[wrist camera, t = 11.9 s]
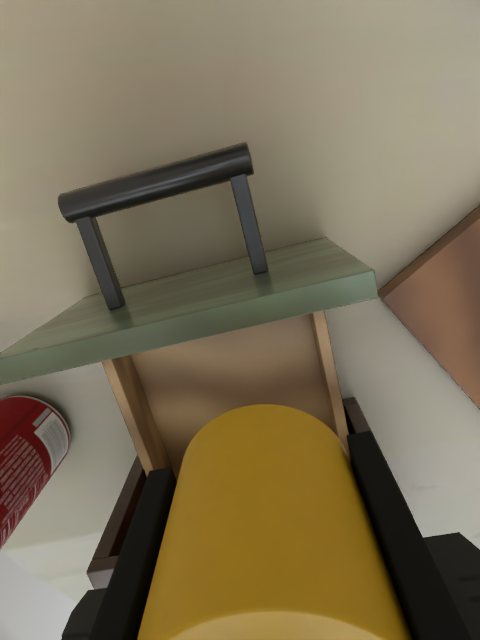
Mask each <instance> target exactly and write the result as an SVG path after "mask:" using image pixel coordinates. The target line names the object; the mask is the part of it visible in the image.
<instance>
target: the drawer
mask: <svg viewBox="0 0 480 640" xmlns="http://www.w3.org/2000/svg"><path fill="white" fill-rule="evenodd" d="M253 174H254V170H253V165H252V160H251V156H250V152H249V148H248V144H247V142H244V143H240V144H237V145H233V146H229V147H226V148H222V149H219V150H215V151H212V152H208V153H204V154H201V155H197V156H194V157H190V158H187V159H183V160H179V161H176V162H172V163H169V164H165V165H162V166H158V167H154V168H151V169H147V170H144V171H140V172H137V173H133V174H129V175H126V176H122V177H119V178H115V179H112V180H108V181H104V182H101V183H97V184H94V185H90V186H87V187H83V188H79V189H76V190H72V191H69V192H65V193H62V194H60V195H59V196H58V205H59V208H60V211H61V213H62V215H63V217H64V218H65V219H66V220H67V221H68V222H69V223H77V226H78V228H79V231H80V234H81V237H82V239H83V242H84V245H85V247H86V250H87V253H88V256H89V258H90V261H91V264H92V266H93V269H94V272H95V274H96V277H97V280H98V283H99V285H100V288H101V291H102V293H100V294H96V295H92V296H88V297H85V298H83V299H82V300H80V301H79V302H77V303H76V304H74V305H73V306H71V307H70V308H68V309H67V310H65V311H64V312H62V313H61V314H59V315H58V316H56V317H54V318H53V319H51V320H50V321H48V322H47V323H45V324H44V325H42V326H41V327H39V328H38V329H36V330H35V331H33V332H32V333H30V334H29V335H27V336H26V337H24V338H23V339H21V340H19V341H18V342H16V343H15V344H13V345H12V346H10V347H9V348H7V349H6V350H4V351H3V352H1V353H0V385H1V384H6V383H10V382H14V381H19V380H23V379H27V378H32V377H36V376H40V375H45V374H49V373H54V372H58V371H62V370H67V369H71V368H75V367H80V366H84V365H88V364H93V363H97V362H101V361H102V364H103V366H104V369H105V372H106V374H107V377H108V379H109V382H110V384H111V387H112V389H113V392H114V395H115V397H116V400H117V402H118V405H119V407H120V410H121V412H122V415H123V418H124V420H125V423H126V425H127V428H128V430H129V433H130V436H131V438H132V441H133V443H134V446H135V448H136V451H137V453H138V456H139V459H140V461H141V464H142V466H143V469H144V471H145V474H146V476H148V474H149V471H152V470H157V469H163V468H168V467H172V469H173V472H174V475H175V477H176V480H177V481H178V477H179V473H180V469H181V465H182V461H183V457H184V455H185V452H186V449H187V447H188V446H189V444H190V442H191V440H192V439H193V438H194V437H195V435H196V434H197V433H198V432H199V431H200V430H201V429H202V428H203V427H204V426H205V425H206V424H208V423H209V422H210V421H212V420H213V419H214V418H216V417H218V416H220V415H222V414H224V413H226V412H228V411H231V410H233V409H236V408H240V407H244V406H250V405H257V404H273V405H282V406H287V407H291V408H295V409H298V410H301V411H303V412H306V413H308V414H310V415H312V416H314V417H315V418H317V419H318V420H320V421H321V422H323V423H324V424H325V425H326V426H328V427H329V428H330V429H331V430H332V431H333V432H334V433H335V434H336V436H337V437H338V438H339V439H340V441H341V443H342V444H343V446H344V448H345V450H346V452H347V455H348V457H349V460H350V463H351V458H350V453H349V447H348V442H347V436H346V435H349V434H348V429H347V424H346V419H345V414H344V408H343V403H342V398H341V393H340V388H339V383H338V378H337V373H336V368H335V363H334V358H333V353H332V348H331V343H330V338H329V333H328V328H327V323H326V318H325V313H324V310H328V309H332V308H336V307H341V306H345V305H349V304H354V303H358V302H362V301H367V300H371V299H375V298H378V292H377V285H376V279H375V272H374V270H373V269H372V268H370V267H369V266H367V265H366V264H364V263H363V262H361V261H360V260H358V259H357V258H355V257H354V256H353V255H351V254H350V253H348V252H347V251H345V250H344V249H342V248H341V247H339V246H338V245H336V244H335V243H334V242H332V241H331V240H329V239H328V238H326V237H325V238H321V239H317V240H313V241H309V242H305V243H301V244H297V245H293V246H289V247H285V248H281V249H277V250H273V251H269V252H265V253H264V249H263V244H262V240H261V236H260V232H259V227H258V223H257V219H256V214H255V210H254V206H253V202H252V197H251V193H250V189H249V185H248V180H247V176H250V175H253ZM228 181H230V182H231V186H232V190H233V194H234V198H235V202H236V206H237V210H238V214H239V218H240V222H241V226H242V230H243V234H244V238H245V242H246V246H247V250H248V254H249V256H248V257H244V258H240V259H236V260H232V261H228V262H224V263H220V264H216V265H212V266H208V267H204V268H200V269H196V270H192V271H188V272H184V273H180V274H176V275H172V276H168V277H164V278H160V279H156V280H152V281H148V282H144V283H140V284H136V285H132V286H128V287H124V288H120V285H119V282H118V279H117V276H116V274H115V271H114V268H113V265H112V262H111V259H110V257H109V254H108V251H107V248H106V245H105V243H104V240H103V237H102V234H101V231H100V228H99V226H98V223H97V220H96V217H98V216H102V215H106V214H109V213H113V212H117V211H121V210H124V209H128V208H132V207H135V206H139V205H143V204H146V203H150V202H154V201H157V200H161V199H165V198H169V197H172V196H176V195H180V194H183V193H187V192H191V191H194V190H198V189H202V188H206V187H209V186H213V185H217V184H220V183H224V182H228ZM351 466H352V464H351Z"/></svg>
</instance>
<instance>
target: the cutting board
mask: <svg viewBox="0 0 480 640" xmlns="http://www.w3.org/2000/svg"><path fill="white" fill-rule="evenodd" d="M378 296H379V297H380V298H381V300H382V301H383V302H384V303H385V304H386V305H387V306H388V307H389V309H390V310H391V311H392V312H393V313H394V314H395V315H396V316H397V317H398V319H399V320H400V321H401V322H402V323H403V324H404V325H405V326H406V327H407V329H408V330H409V331H410V332H411V333H412V334H413V335H414V336H415V337H416V339H417V340H418V341H419V342H420V343H421V344H422V345H423V346H424V347H425V349H426V350H427V351H428V352H429V353H430V354H431V355H432V356H433V357H434V359H435V360H436V361H437V362H438V363H439V364H440V365H441V366H442V368H443V369H444V370H445V371H446V372H447V373H448V374H449V375H450V376H451V378H452V379H453V380H454V381H455V382H456V383H457V384H458V385H459V386H460V388H461V389H462V390H463V391H464V392H465V393H466V394H467V395H468V396H469V398H470V399H471V400H472V401H473V402H474V403H475V404H476V405H477V406H478V408H479V409H480V206H479V207H478V208H476V209H475V210H474V211H473V212H472V213H471V214H469V215H468V216H467V217H466V218H465V219H463V220H462V221H461V222H460V223H459V224H457V225H456V226H455V227H454V228H453V229H452V230H450V231H449V232H448V233H447V234H446V235H444V236H443V237H442V238H441V239H440V240H439V241H437V242H436V243H435V244H434V245H433V246H431V247H430V248H429V249H428V250H427V251H426V252H424V253H423V254H422V255H421V256H420V257H418V258H417V259H416V260H415V261H414V262H412V263H411V264H410V265H409V266H408V267H407V268H405V269H404V270H403V271H402V272H401V273H399V274H398V275H397V276H396V277H395V278H394V279H392V280H391V281H390V282H389V283H388V284H386V285H385V286H384V287H383V288H382V289H380V290H379V291H378Z"/></svg>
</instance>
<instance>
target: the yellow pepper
mask: <svg viewBox="0 0 480 640" xmlns="http://www.w3.org/2000/svg"><path fill="white" fill-rule="evenodd" d="M137 640H413V638H412V635H411V632H410V630H409V627H408V624H407V621H406V618H405V615H404V613H403V610H402V607H401V604H400V601H399V598H398V596H397V593H396V590H395V587H394V584H393V581H392V579H391V576H390V573H389V570H388V567H387V565H386V562H385V559H384V556H383V553H382V550H381V548H380V545H379V542H378V539H377V536H376V533H375V531H374V528H373V525H372V522H371V519H370V517H369V514H368V511H367V508H366V505H365V502H364V500H363V497H362V494H361V491H360V488H359V485H358V483H357V480H356V477H355V474H354V471H353V468H352V466H351V463H350V460H349V457H348V455H347V452H346V450H345V448H344V446H343V444H342V443H341V441H340V439H339V438H338V437H337V436H336V434H335V433H334V432H333V431H332V430H331V429H330V428H329V427H328V426H326V425H325V424H324V423H323V422H321V421H320V420H318V419H317V418H315V417H314V416H312V415H310V414H308V413H306V412H303V411H301V410H298V409H295V408H291V407H287V406H282V405H273V404H257V405H250V406H244V407H240V408H236V409H233V410H231V411H228V412H226V413H224V414H222V415H220V416H218V417H216V418H214V419H213V420H212V421H210V422H209V423H208V424H206V425H205V426H204V427H203V428H202V429H201V430H200V431H199V432H198V433H197V434H196V435H195V437H194V438H193V439H192V440H191V442H190V444H189V446H188V447H187V449H186V452H185V455H184V457H183V461H182V465H181V469H180V473H179V477H178V481H177V485H176V488H175V492H174V496H173V500H172V504H171V508H170V512H169V516H168V520H167V524H166V528H165V532H164V536H163V540H162V543H161V547H160V551H159V555H158V559H157V563H156V567H155V571H154V575H153V579H152V583H151V587H150V591H149V595H148V598H147V602H146V606H145V610H144V614H143V618H142V622H141V626H140V630H139V634H138V638H137Z"/></svg>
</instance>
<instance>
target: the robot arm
mask: <svg viewBox="0 0 480 640" xmlns="http://www.w3.org/2000/svg"><path fill="white" fill-rule="evenodd" d="M346 436H347V442H348V447H349V453H350V458H351V464H352V468H353V471H354V474H355V477H356V480H357V483H358V485H359V488H360V491H361V494H362V497H363V500H364V502H365V505H366V508H367V511H368V514H369V517H370V519H371V522H372V525H373V528H374V531H375V533H376V536H377V539H378V542H379V545H380V548H381V550H382V553H383V556H384V559H385V562H386V565H387V567H388V570H389V573H390V576H391V579H392V581H393V584H394V587H395V590H396V593H397V596H398V598H399V601H400V604H401V607H402V610H403V613H404V615H405V618H406V621H407V624H408V627H409V630H410V632H411V635H412V638H413V640H480V550H479V549H478V548H477V547H476V546H475V545H473V544H472V543H471V542H470V541H469V540H467V539H466V538H465V537H464V536H463V535H461V534H460V533H459V532H458V533H451V534H445V535H438V536H432V537H425V538H423V537H422V535H421V533H420V531H419V529H418V527H417V525H416V523H415V521H414V518H413V516H412V514H411V512H410V510H409V508H408V506H407V504H406V502H405V500H404V498H403V496H402V494H401V492H400V490H399V487H398V485H397V483H396V481H395V479H394V477H393V475H392V473H391V471H390V469H389V467H388V465H387V463H386V461H385V459H384V456H383V454H382V452H381V450H380V448H379V446H378V444H377V442H376V440H375V438H374V436H373V434H372V432H371V431H366V432H360V433H355V434H349V435H346ZM176 485H177V480H176V477H175V475H174V472H173V469H172V467H168V468H163V469H157V470H152V471H149V474H148V476H147V479H146V482H145V485H144V487H143V490H142V493H141V496H140V498H139V501H138V504H137V507H136V509H135V512H134V515H133V518H132V520H131V523H130V526H129V529H128V531H127V534H126V537H125V540H124V542H123V545H122V548H121V551H120V554H119V556H118V559H117V562H116V565H115V567H114V570H113V573H112V576H111V578H110V581H109V584H108V587H107V588H101V589H94V590H88V591H87V592H86V594H85V595H84V596H83V598H82V599H81V600H80V602H79V603H78V604H77V606H76V607H75V608H74V610H73V611H72V613H71V615H70V617H69V620H68V622H67V625H66V627H65V629H64V631H63V634H62V640H137V638H138V634H139V630H140V626H141V622H142V618H143V614H144V610H145V606H146V602H147V598H148V595H149V591H150V587H151V583H152V579H153V575H154V571H155V567H156V563H157V559H158V555H159V551H160V547H161V543H162V540H163V536H164V532H165V528H166V524H167V520H168V516H169V512H170V508H171V504H172V500H173V496H174V492H175V488H176Z"/></svg>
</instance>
